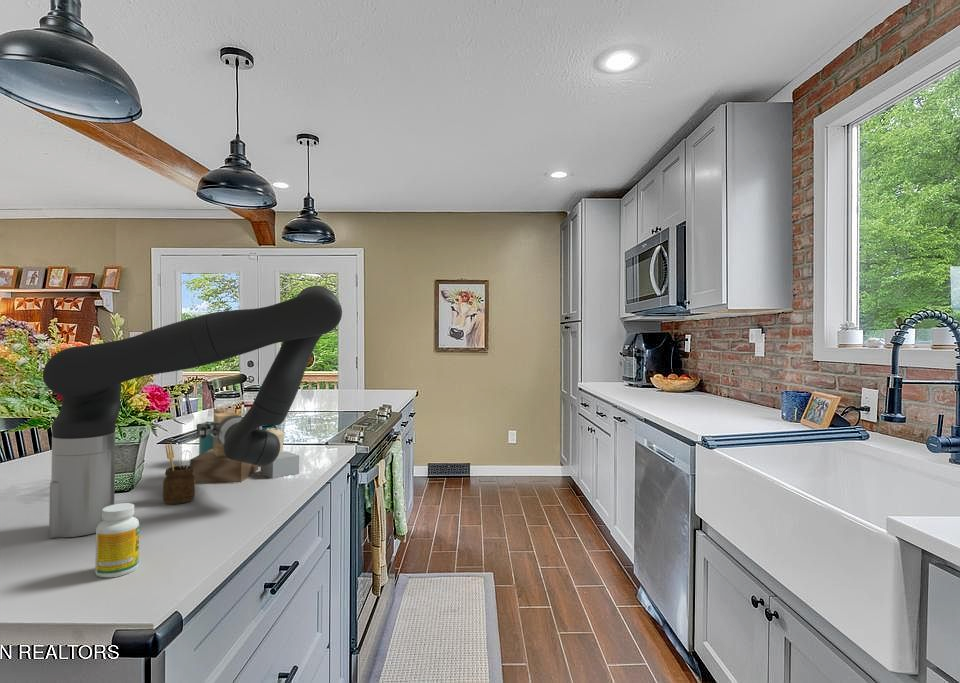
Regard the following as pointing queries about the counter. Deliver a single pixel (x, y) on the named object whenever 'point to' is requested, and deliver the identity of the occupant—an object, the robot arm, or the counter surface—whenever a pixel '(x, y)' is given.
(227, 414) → the oak pillar
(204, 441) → the cup
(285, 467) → the grey block
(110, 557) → the supplement bottle
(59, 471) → the robot arm
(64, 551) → the counter surface
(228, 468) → the walnut block
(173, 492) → the utensil holder
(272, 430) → the candle
